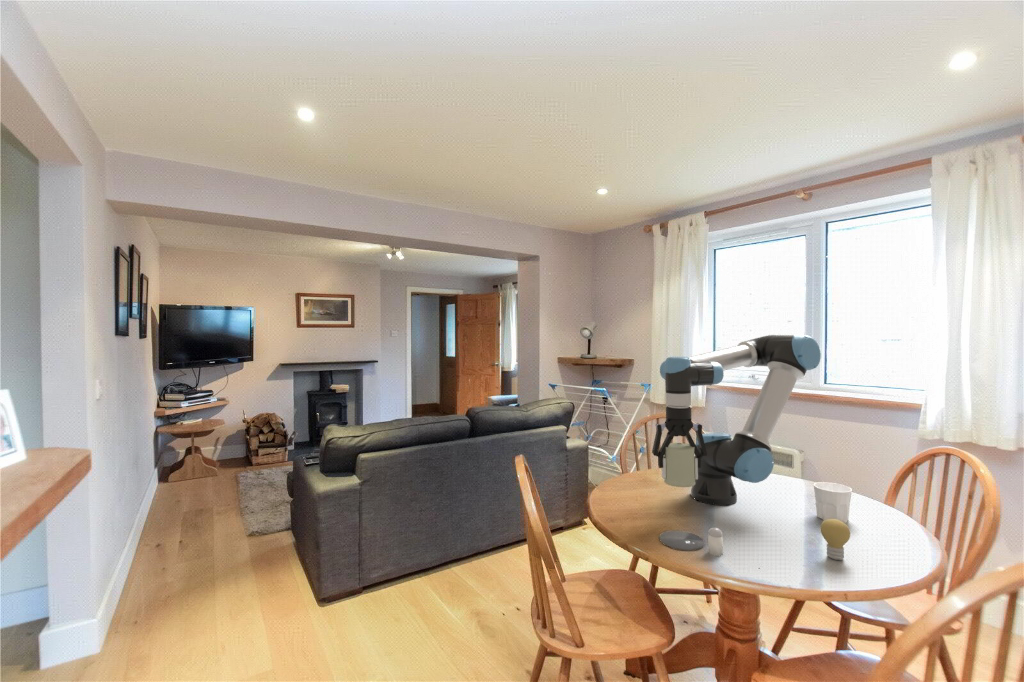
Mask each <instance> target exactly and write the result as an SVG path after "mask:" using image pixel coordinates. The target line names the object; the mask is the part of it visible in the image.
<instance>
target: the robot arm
mask: <svg viewBox="0 0 1024 682" xmlns="http://www.w3.org/2000/svg"><path fill="white" fill-rule="evenodd" d="M821 355H822V354H821V349H820V346H819V343H818V342H817V340H816V339H815V338H813V337H812V336H810V335H807V334H805V335H804V334H769V335H764V336H760V337H756V338H752V339H749V340H745V341H741V342H739V343H738V344H737V345H735V346H731V347H726V348H723V349H718V350H714V351H710V352H706V353H700V354H697V355H693V356H669V357H667V358H665V360H664V361H663V362H662V363H661V364H660V367H659V375H660V376H661V378H662V379H663V380H664V381H665V406H666V405H667V406H666V407H665V421H664V423H658V422H656V423H655V429H656V430H655V436H654V440H653V445H652V450H651V453H652V455H653V456H654V457H657V460H658V461H657V463H658V467H659V468H660V469H661V478H662V479H663V480H665V479H666V458H665V457H664V454H665V452H666V447H668V446H669V444H670V443H672V440H673V439H674V438H675V437H685V438H686V440H687V442H688V444H690V446H691V447H695V448H694V467H695V485H694V486H691V490H690V496H691V498H692V497H693V498H692V499H694V498H695V499H697V500H699V501H698V502H700V501H701V502H700V503H703V502H705V503H704V504H708V503H709V504H710V505H714V504H716V505H715V506H727V505H728V506H729V505H733V504H736V503H737V501H738V494H737V491H736V488H735V486H734V482H733V479H732V477H733V478H736V479H739V481H743V482H748V483H752V484H756V483H757V484H758V483H760V482H763V481H765V480H766V479H768V477H769V476H771V474H772V471H773V469H774V466H775V462H774V460H775V459H774V457H773V454H772V453H771V452H772V449H773V448H772V446H771V444H770V441H771V439H772V436H773V434H774V432H775V430H776V427H777V425H778V424H779V421H780V420H781V416H782V415H783V414H782V413H783V412H784V410H785V408H786V405H787V403H788V400H789V398H790V396H791V394H792V392H793V389H794V387H795V385H796V383H797V381H799V380H801V379H804V377H805V375H806V373H807V371H811V370H812V371H813V370H814V369H816V368H817V367H818V366H819V364H820V362H821ZM740 367H745V368H752V367H767V368H768V370H769V371H768V374H767V376H766V378H765V380H764V383H763V384H762V387H761V389H760V391H759V394H758V396H757V397H756V400H755V403H754V404H753V407H752V409H751V411H750V413H749V415H748V416H747V419H746V422H745V424H744V426H743V429H742V430H741V431H738V432H736V433H735V434H734V436H733V437H731V436H732V435H731V434H730V433H724V432H714V433H713V432H708V433H707V432H706V433H703V432H702V431H703V425H702V424H701V423H700V422H697V423H693V421H692V408H691V405H692V387H698V386H699V387H702V386H713V385H719V384H721V382H723V379H724V372H725V371H728V370H729V371H730V370H732V369H736V368H740ZM665 428H666V430H667V433H666V436H665V438H664V440H663V442H662V444H661V440H662V436H663V435H662V434H663V431H665ZM692 429H693V430H694V431H695V435H696V438H695V441H694V440H693V437H692V435H691V433H690V432H691V430H692ZM660 444H661V446H660ZM695 499H694V500H695ZM697 500H696V501H697ZM709 504H708V505H709Z"/></svg>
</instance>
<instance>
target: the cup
mask: <svg viewBox="0 0 1024 682" xmlns="http://www.w3.org/2000/svg"><path fill="white" fill-rule="evenodd" d="M813 491H814V498H815V510H816V517H818V518H819V519H822V520H823V521H825V520H828V519H837V520H840V521H842V522H843V523H845V524H847V523H848V521H849V519H850V517H849V516H850V506H851V500H852V493H853V492H852V491H853V489H852V488H851V487H850V486H847V485H844V484H841V483H835V482H826V481H819V482H814V483H813Z"/></svg>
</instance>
